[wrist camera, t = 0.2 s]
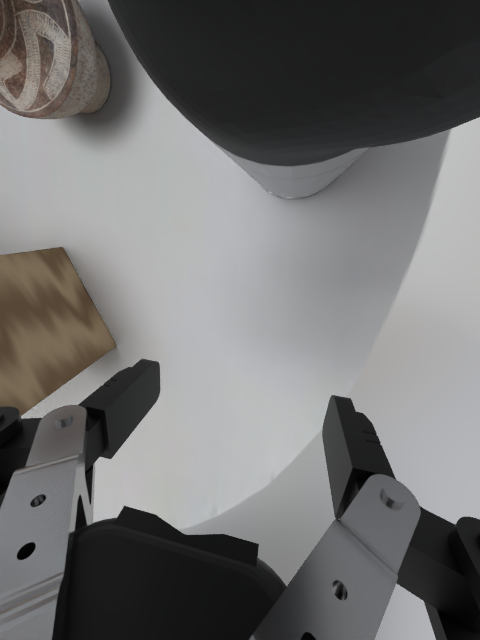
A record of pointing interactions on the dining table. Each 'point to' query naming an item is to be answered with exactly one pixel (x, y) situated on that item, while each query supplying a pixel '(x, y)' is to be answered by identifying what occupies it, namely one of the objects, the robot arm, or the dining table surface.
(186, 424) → the dining table surface
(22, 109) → the pottery
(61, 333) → the lower block
